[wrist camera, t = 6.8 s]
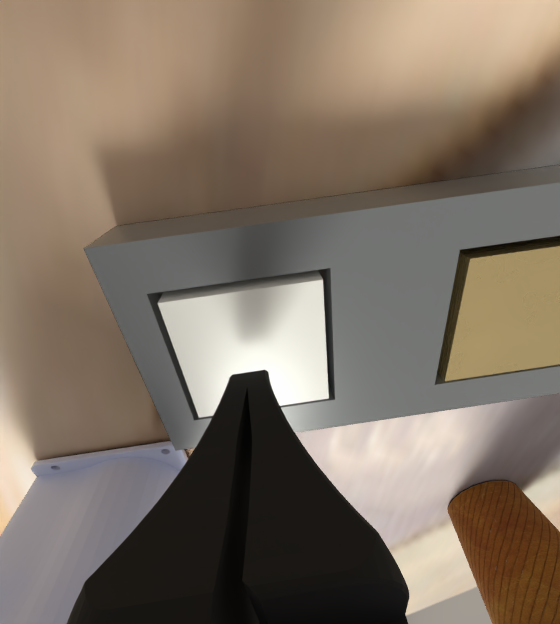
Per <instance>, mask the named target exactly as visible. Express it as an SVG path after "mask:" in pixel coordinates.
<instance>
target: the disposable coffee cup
mask: <svg viewBox="0 0 560 624" xmlns="http://www.w3.org/2000/svg"><path fill="white" fill-rule="evenodd" d="M448 513H449V516H450V518H451V520H452V523H453V526H454V528H455V531H456V533H457V535H458V538H459V541H460V543H461V546H462V548H463V550H464V553H465V556H466V558H467V561H468V563H469V566H470V568H471V571H472V573H473V576H474V578H475V581H476V583H477V586H478V588H479V591H480V593H481V596H482V598H483V601H484V603H485V606H486V609H487V611H488V613H489V616H490V619H491V621H492V623H493V624H560V532H559V531H558V529H557V528H556V527H555V526H554V525H553V524H552V523H551V522H550V521H549V520H548V519H547V518H546V517H545V516H544V514H543V513H542V512H541V511H540V510H539V509H538V508H537V507H536V506H535V505H534V504H533V503H532V502H531V500H530V499H529V498H528V497H527V496H526V495H525V494H524V493H523V492H522V491H521V490H520V488H519V487H518V486H517V485H516V484H514V483H512V482H509V481H500V480H499V481H489V482H485V483H481V484H478V485H475V486H472V487H470V488H468V489H467V490H465V491H463V492H461V493H460V494H459V495H457V496H456V497H455V498H454V499H453V500H452V501H451V503H450V504H449V507H448Z"/></svg>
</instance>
